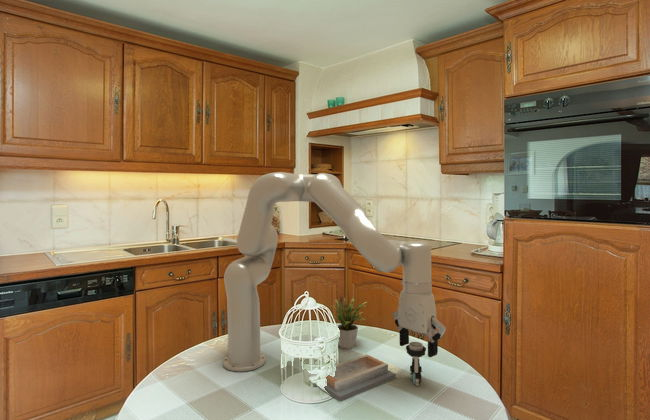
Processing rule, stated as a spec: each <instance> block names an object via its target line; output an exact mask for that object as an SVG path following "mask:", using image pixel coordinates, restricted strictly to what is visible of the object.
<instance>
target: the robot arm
mask: <svg viewBox="0 0 650 420" xmlns="http://www.w3.org/2000/svg"><path fill="white" fill-rule="evenodd" d="M342 185H343V184H342V183H341V180H340V179H339V178H338V177H337V176H335V175H334V174H330V173H326V172H318V173H317V174H311V173H310V174H309V173H307V174H306V173H305V174H304V173H303V174H301V173H292V172H291V173H289V172H285V171H284V172H283V171H278V172H277V171H276V172H274V171H273V172H270V173H266V174H264V175H261V176H259V177H258V178H256V180H254V182H253V184H252V185H251V187H250V188H249V191H248V196H247V199H246V203H245V207H244V211H243V215H242V218H241V222H240V226H239V230H238V234H237V238H236V246H237V250H238V252H240V253H241V254H242V255H243V257H240V258H238V259H236V260H234V261H231V262H230V263H229V265H228V266H227V267H226V269H225V271H224V275H223V282H224V289H225V294H226V305H227V306H226V309H227V355H226V356H225V357H224V358H223V359H222V366H223V367H224V368H225V369H226V370H229V371H232V372H249V371H253V370H257V369H259V368H261V367H262V366H263V365H265V363H266V359H267V358H266V357H267V356H266V355H265V354H264V353H262V352H261V310H260V309H261V304H260V297H259V293H258V285H259V284H261V283H263V282H264V281H266V279H267V278H268V277H269V274H270V272H271V270H272V266H273V262H274V259H275V254H276V252H277V247H278V242H279V235H278V232H277V229H276V227H275V226H274V225H273V224H272V222H273V219H274V216H275V215H274V214H275V206H276V204H277V203H281V202H283V203H287V202H289V203H290V202H307V203H308V202H309V203H310V202H311V203H314V204H316V205H317V206H318V208H320V209H321V210H322V211H323V213H325V214H326V215H327V216H328V217H329V218H330V219H331V220H332V222H334V223H335V225H336V226H337V227H339V228H340V230H341V232H343V234H344V235H345V237H346V239H348V240H349V241H350V243H351V244H352V246H353V247H354V248H355V249H356V250H357V251H358V253H359V254H360V255H361V256H362V257H363V258H365V260H366V261H367V262H369V264H370V265H372V267H374V268H375V269H376V270H377V271H379V272H383V273H391V272H393V271H395V270H396V269H398V267H399V266H402V280H401V281H400V284H401V285H402V289H401V291H400V293H399V299H398V306H397V307H398V308H397V310H396V311H394V312H393V311H392V317H393V319H394V323H395V325H396V327H397V331H398V334H399V346H400V347H404V346H407V345H409V343H410V331H411V332H415V333H418V334H420V335H426V338H427V339H428V340H429V341H428V342H427V357H428V358H432V357H435V356H437V355H438V351H439V348H438V347H439V346H438V344H439V342H438V341H440V340H441V338H443V337H444V334H445V333H446V331H447V327H446V326H445V325H444V324H443V323H442V322H440V321H439V319H437V307H436V300H435V296H434V294H433V291H432V287H433V286H432V285H433V284H432V281H433V280H432V247H431V243H429V242H428V241H424V240H423V241H422V240H409V241H404V240H403V241H401V240H398V239H387V238H386V237H385V236H384V235H383V234H382V233H381V232H380V231H379V230H378V229H377V228H376V226H374V224H373V223H372V221H370V218H369V216H368V214H367V212H366V210H365V208H363V206H362V205H361V204H360V203H359V202H358V201H357V200H356V199H355V198H354V197H353V196H352V195H351V194H350V193H349V192H348V191H347V190H346V189H345V188H344V187H343V186H342Z"/></svg>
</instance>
